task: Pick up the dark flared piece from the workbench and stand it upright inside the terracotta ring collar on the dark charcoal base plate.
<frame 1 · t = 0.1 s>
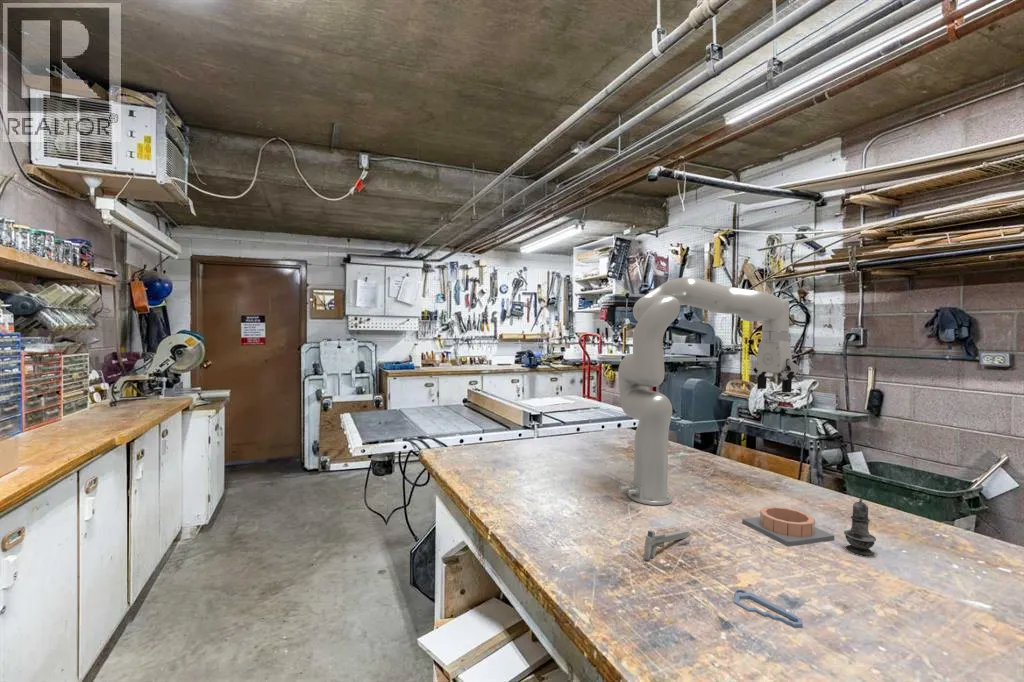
hand: (773, 390, 151), 31 cm above the workbench, tool pointing down, fingers open, 9 cm apart
dark flared piece: (859, 552, 106), on the workbench
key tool: (763, 613, 82), on the workbench
shaker holder: (786, 530, 117), on the workbench
caliper: (669, 548, 107), on the workbench
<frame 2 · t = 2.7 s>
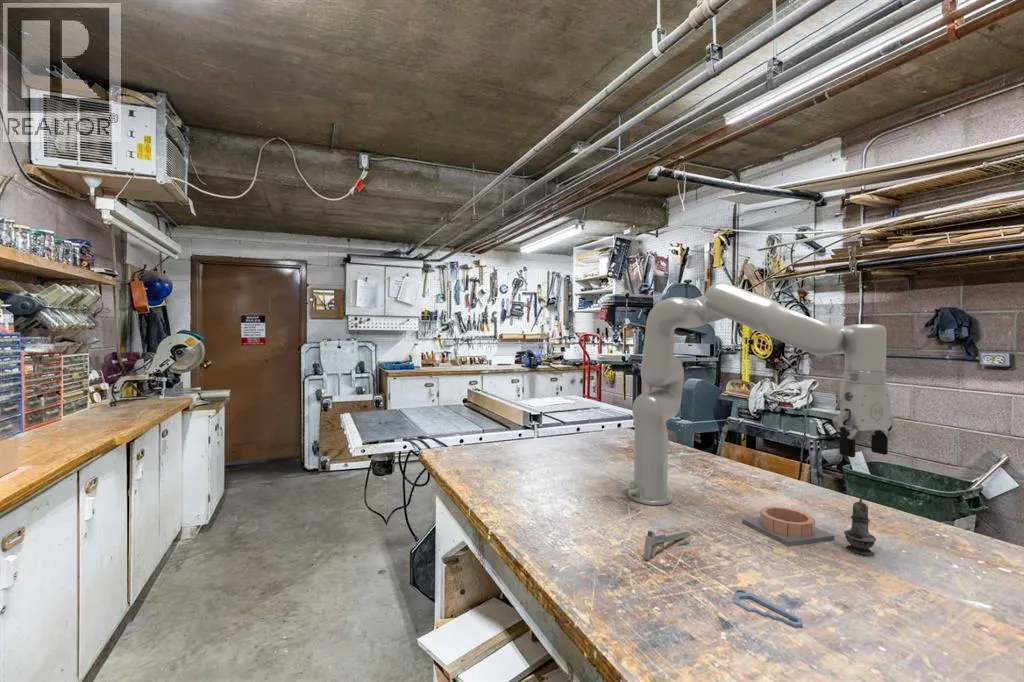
hand: (863, 454, 106), 22 cm above the workbench, tool pointing down, fingers open, 9 cm apart
nothing on the workbench moved.
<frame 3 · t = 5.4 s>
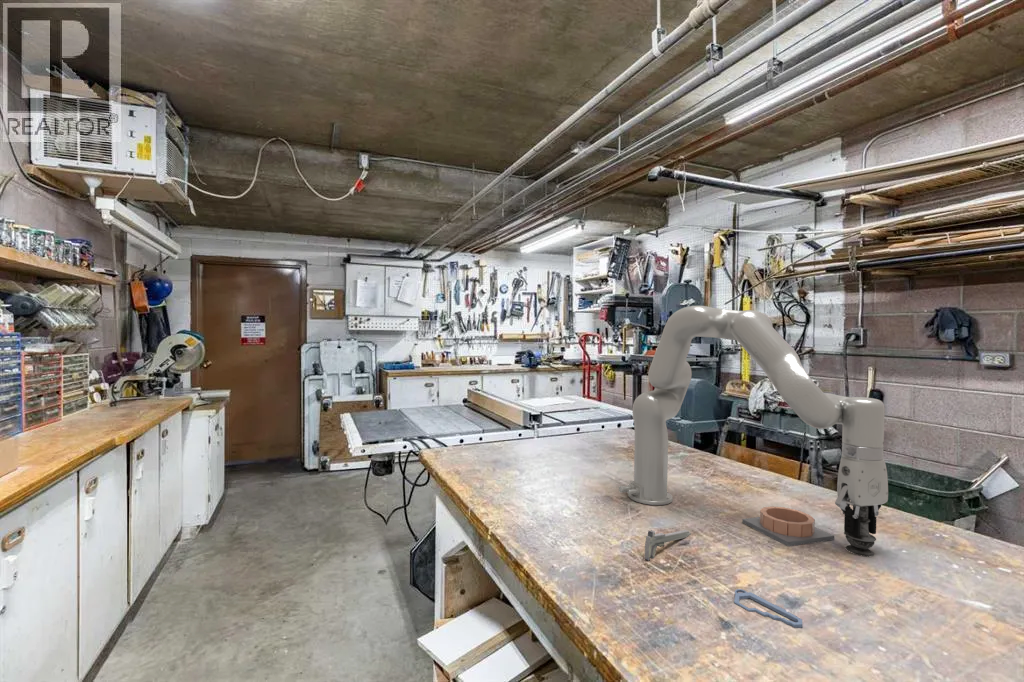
hand: (860, 531, 106), 4 cm above the workbench, tool pointing down, fingers closed on dark flared piece, 4 cm apart
dark flared piece: (859, 551, 106), on the workbench, touching gripper
everything else where it was.
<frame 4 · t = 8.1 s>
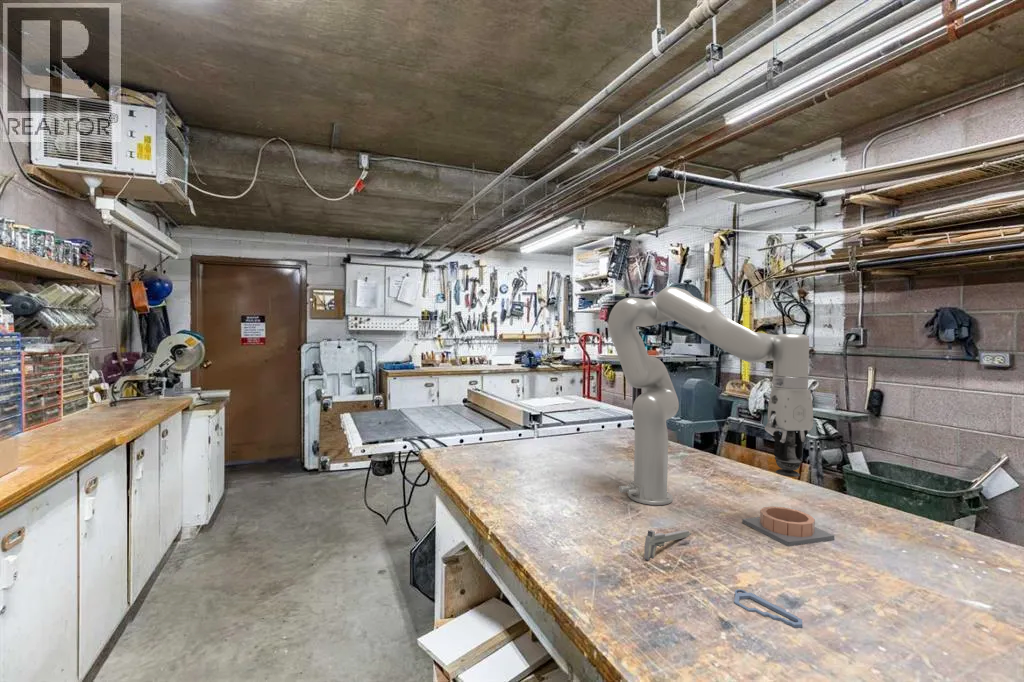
hand: (788, 456, 116), 19 cm above the workbench, tool pointing down, fingers closed on dark flared piece, 4 cm apart
dark flared piece: (787, 474, 116), point 14 cm above the workbench, touching gripper
everything else where it was.
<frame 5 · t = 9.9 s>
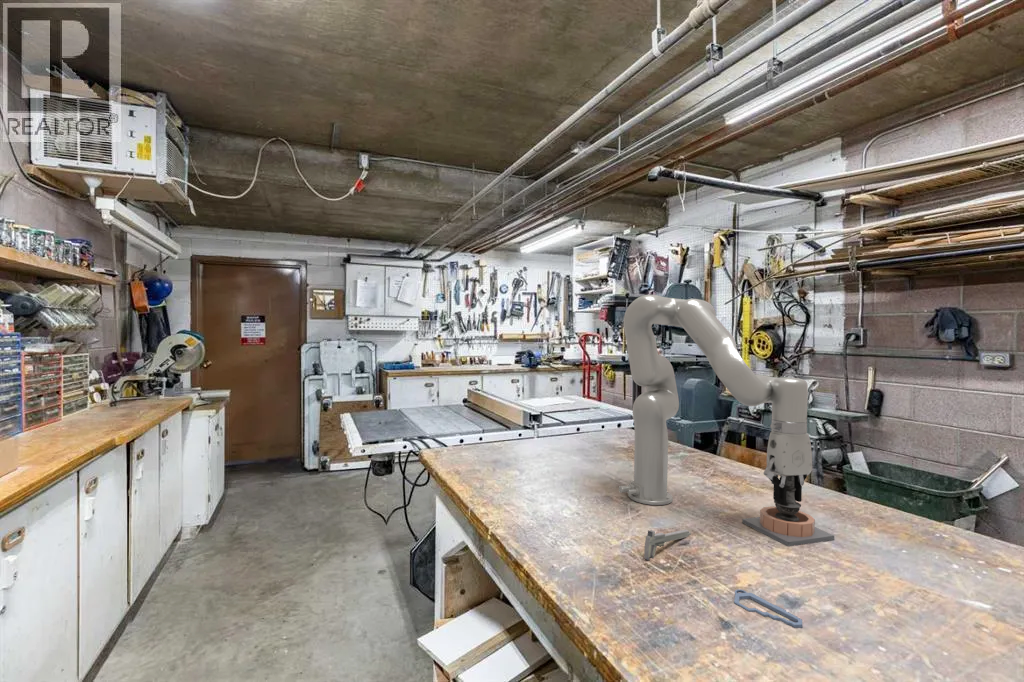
hand: (787, 500, 117), 8 cm above the workbench, tool pointing down, fingers closed on dark flared piece, 4 cm apart
dark flared piece: (787, 518, 117), point 3 cm above the workbench, touching gripper
everything else where it was.
when the fingers open (7 cm above the workbench, at t = 11.2 s): dark flared piece drops 1 cm, resting on shaker holder.
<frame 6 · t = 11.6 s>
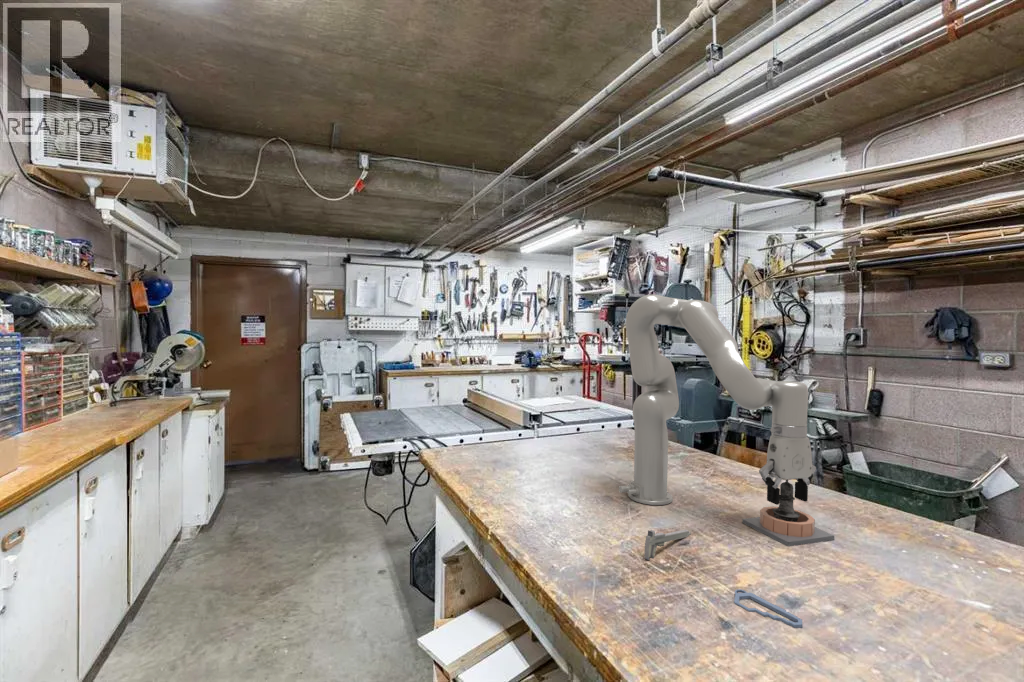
hand: (787, 500, 117), 8 cm above the workbench, tool pointing down, fingers open, 8 cm apart
dark flared piece: (785, 527, 117), point 1 cm above the workbench, touching shaker holder
everything else where it was.
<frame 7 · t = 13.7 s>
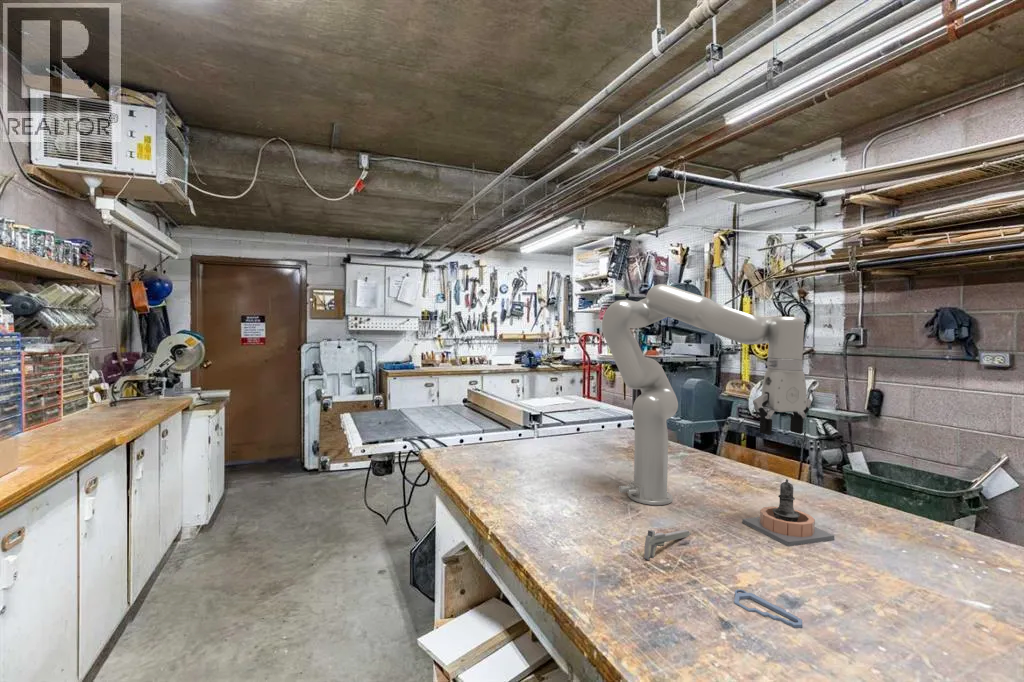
hand: (781, 433, 118), 24 cm above the workbench, tool pointing down, fingers open, 9 cm apart
nothing on the workbench moved.
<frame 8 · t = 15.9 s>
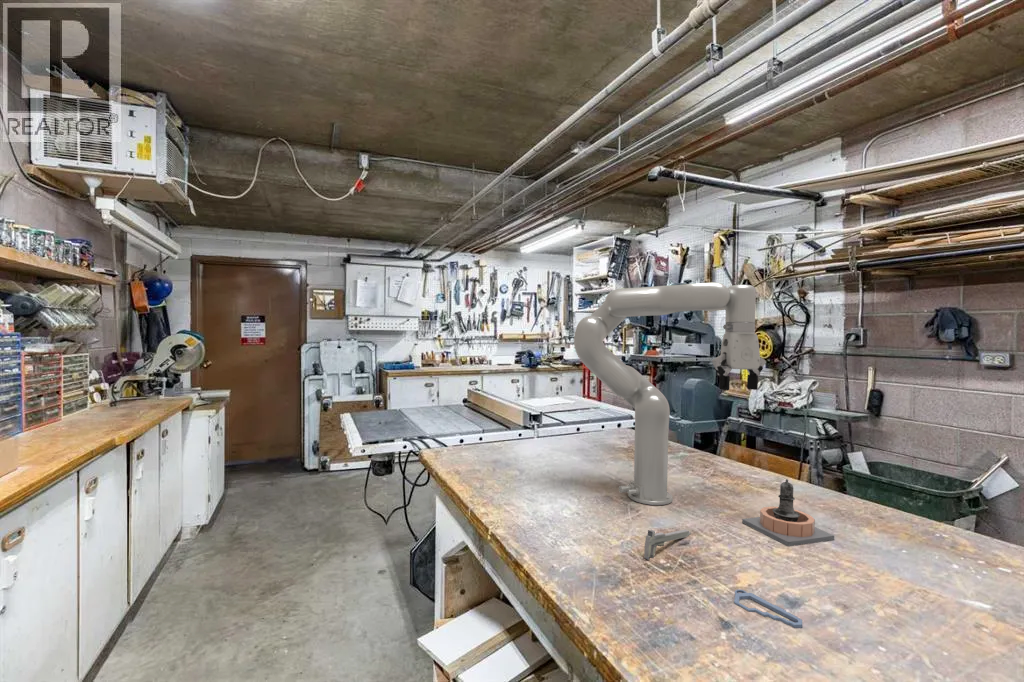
hand: (738, 389, 132), 33 cm above the workbench, tool pointing down, fingers open, 9 cm apart
nothing on the workbench moved.
at the end: dark flared piece 0.1 cm off-centre on the shaker holder, point 0.8 cm above the shaker holder's base; dark flared piece tilted 0°; the gripper is holding nothing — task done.
